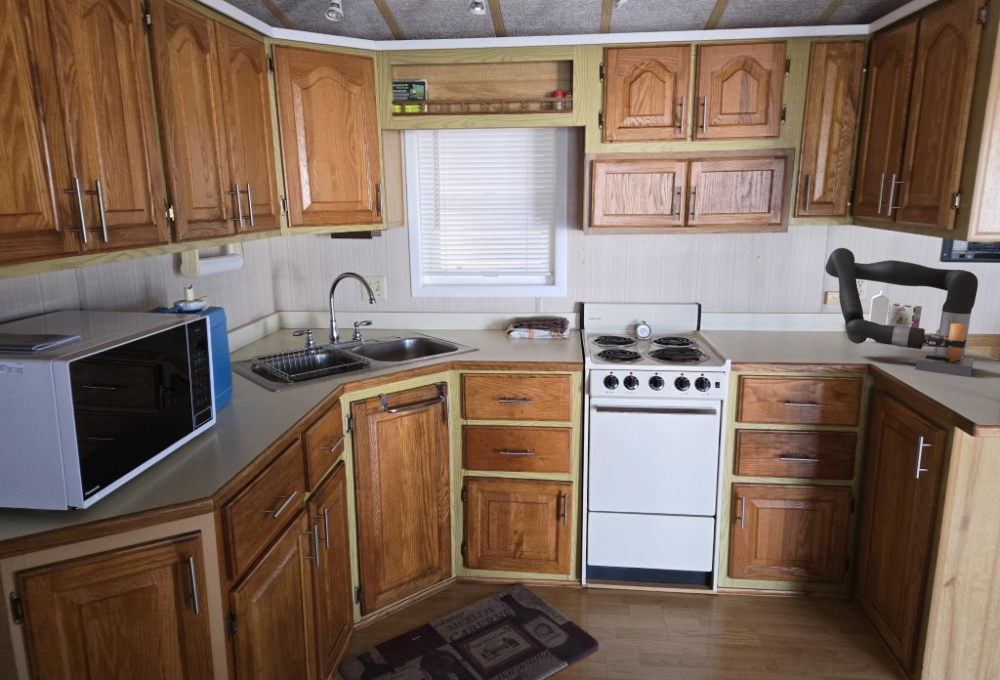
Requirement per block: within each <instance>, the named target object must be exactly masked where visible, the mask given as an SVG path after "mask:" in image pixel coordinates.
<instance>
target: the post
mask: <svg viewBox="0 0 1000 680" xmlns="http://www.w3.org/2000/svg"><path fill="white" fill-rule="evenodd" d="M965 330H966V325H964V324H956V323H952V324H951V327H950V333H949V339H951V340H955V341H964V336H965ZM961 354H962V348H958V347H948V348H947V351H946V358H949V359H950V362H951V361H955V360H956V359H957V360H959V359H961Z"/></svg>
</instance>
